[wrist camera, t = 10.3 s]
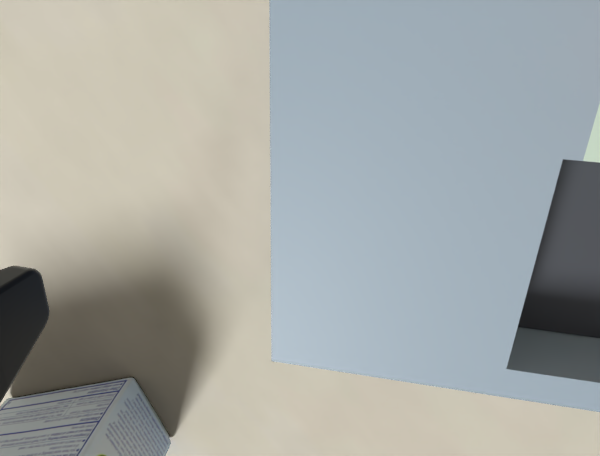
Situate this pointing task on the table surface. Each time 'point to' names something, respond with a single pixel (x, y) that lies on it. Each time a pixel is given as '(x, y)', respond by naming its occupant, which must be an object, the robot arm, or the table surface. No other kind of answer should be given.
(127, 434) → the medicine box
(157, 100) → the table surface
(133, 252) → the table surface
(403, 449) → the table surface
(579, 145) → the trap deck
